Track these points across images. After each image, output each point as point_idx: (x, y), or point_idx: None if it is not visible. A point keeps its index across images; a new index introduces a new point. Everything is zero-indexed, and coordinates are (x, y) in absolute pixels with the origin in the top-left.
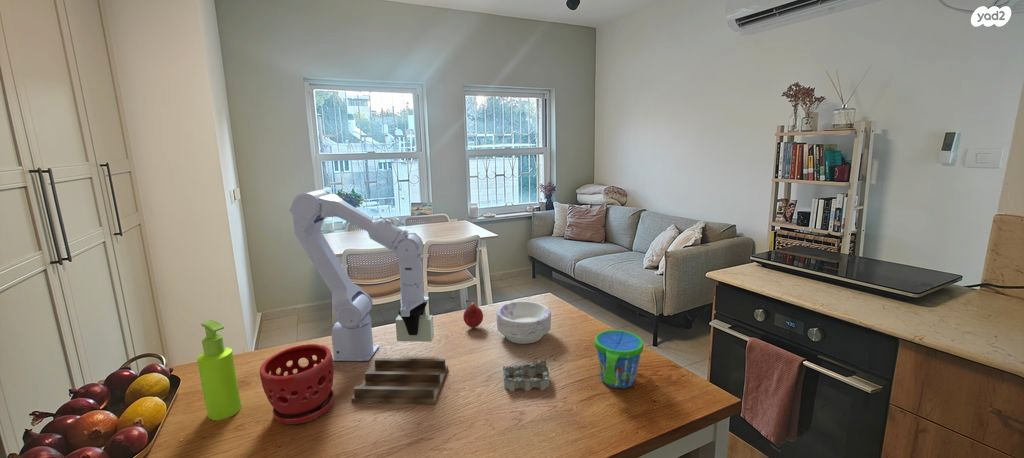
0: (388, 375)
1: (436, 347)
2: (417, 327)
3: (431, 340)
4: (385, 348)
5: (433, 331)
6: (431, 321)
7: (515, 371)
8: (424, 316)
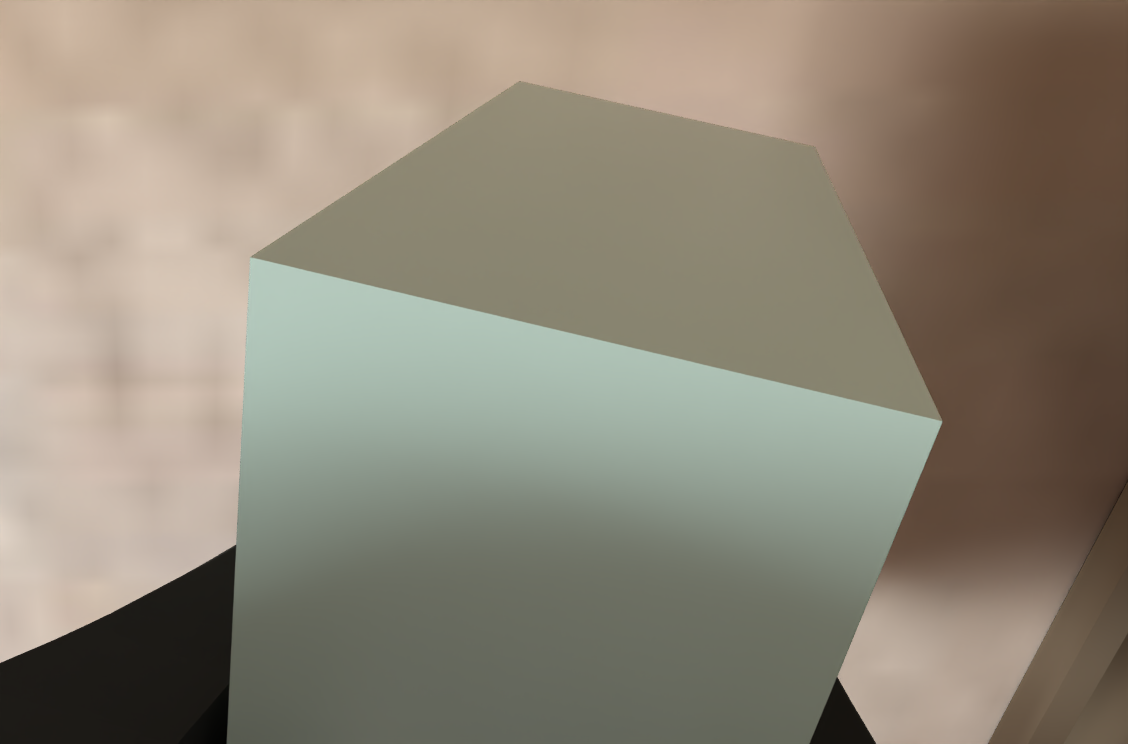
0: None
1: (470, 14)
2: (862, 724)
3: (803, 147)
4: None
5: (522, 111)
6: (660, 277)
7: None
8: (403, 659)
